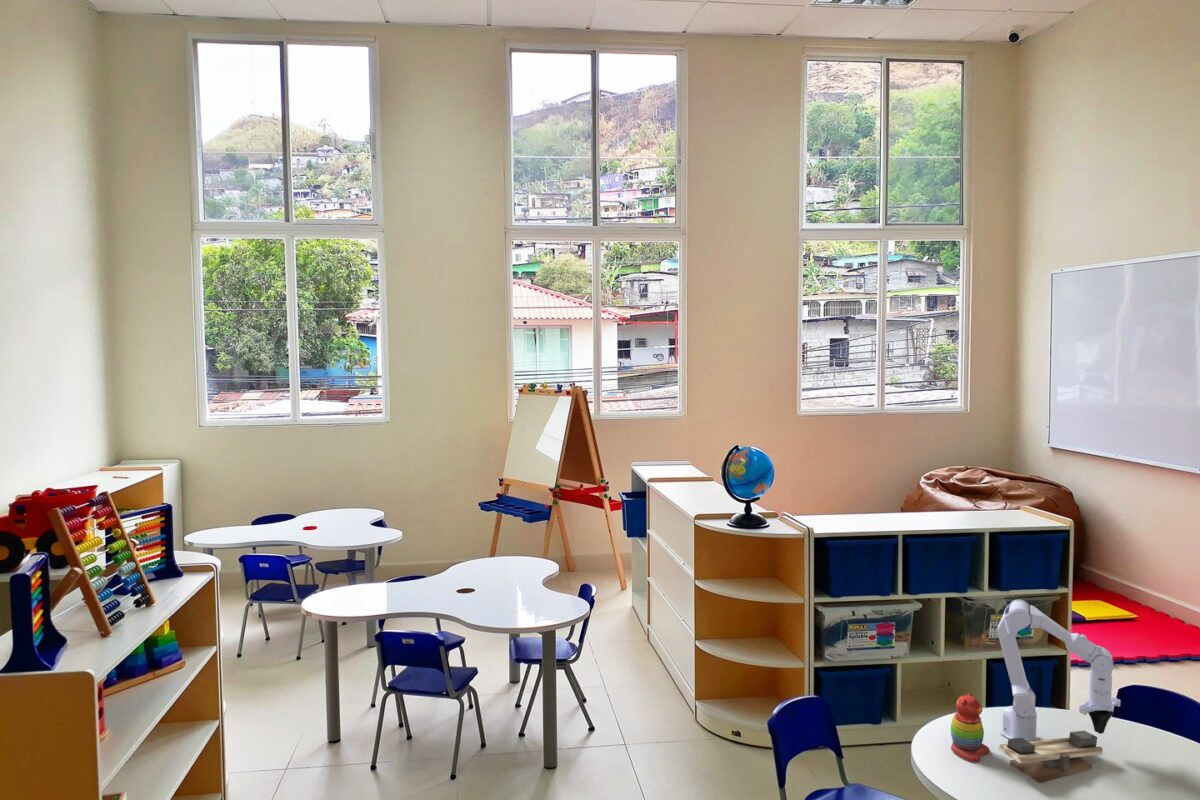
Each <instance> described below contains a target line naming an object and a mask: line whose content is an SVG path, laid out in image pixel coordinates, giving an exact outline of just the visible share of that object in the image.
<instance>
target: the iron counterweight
mask: <svg viewBox="0 0 1200 800" xmlns="http://www.w3.org/2000/svg"><path fill="white" fill-rule="evenodd" d="M1007 739H1008V738H1007ZM1007 744H1008V746H1007V747H1008V748H1009V749H1011V750H1013V751H1014V752H1016V753H1018V754H1019V755H1025V754H1034V751H1035V745H1033V744H1032V743H1030V742H1028V741H1026V740H1025V739H1023V738H1012V739H1008V740H1007Z"/></svg>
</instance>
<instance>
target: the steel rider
mask: <svg viewBox="0 0 1200 800" xmlns="http://www.w3.org/2000/svg"><path fill="white" fill-rule="evenodd" d="M1068 738H1069V744H1071V745H1073V746H1075V747H1076V748H1078V749H1082V748H1092V747H1097V743H1098V736H1096V735H1094V734H1093V733H1090V732H1088V731H1086V730H1078V731H1077V730H1075V731H1069V737H1068Z"/></svg>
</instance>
